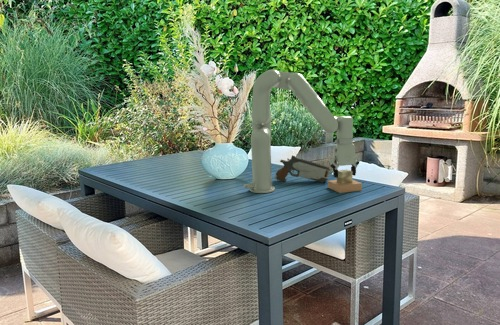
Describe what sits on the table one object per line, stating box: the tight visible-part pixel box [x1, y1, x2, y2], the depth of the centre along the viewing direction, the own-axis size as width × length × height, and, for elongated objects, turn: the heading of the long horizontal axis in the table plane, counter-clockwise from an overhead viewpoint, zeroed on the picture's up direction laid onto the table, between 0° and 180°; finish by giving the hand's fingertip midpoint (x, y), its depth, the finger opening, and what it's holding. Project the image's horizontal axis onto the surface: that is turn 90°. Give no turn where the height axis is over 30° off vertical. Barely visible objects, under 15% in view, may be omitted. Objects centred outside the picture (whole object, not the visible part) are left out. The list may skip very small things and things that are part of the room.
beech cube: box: [336, 168, 353, 184], centre depth 211 cm, size 6×6×6 cm
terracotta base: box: [327, 179, 363, 194], centre depth 212 cm, size 12×12×4 cm
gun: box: [274, 155, 331, 184], centre depth 230 cm, size 5×27×15 cm, turn 79°
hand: (344, 176), depth 211 cm, fingers open, 9 cm apart
